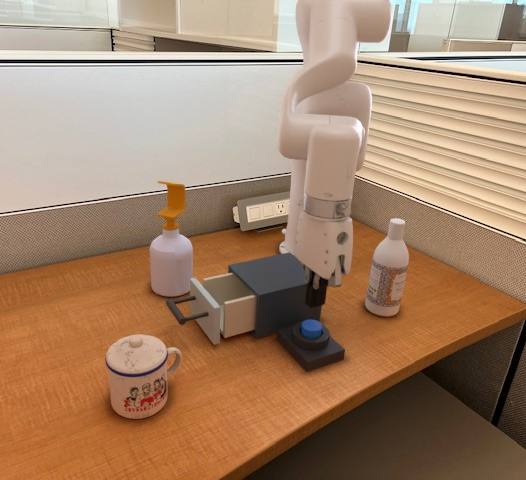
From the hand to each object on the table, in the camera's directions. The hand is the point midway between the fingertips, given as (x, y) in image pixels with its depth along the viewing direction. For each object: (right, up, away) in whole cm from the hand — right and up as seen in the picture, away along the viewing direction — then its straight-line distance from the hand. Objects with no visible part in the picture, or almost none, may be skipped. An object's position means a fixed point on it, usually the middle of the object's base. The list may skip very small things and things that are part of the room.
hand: (314, 304), depth 83 cm
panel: (0, -9, +5) cm, 10 cm away
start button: (0, -6, +3) cm, 6 cm away
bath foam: (+17, -4, +18) cm, 25 cm away
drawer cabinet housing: (-6, -4, +15) cm, 17 cm away
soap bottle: (-28, +1, +23) cm, 36 cm away
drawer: (-17, -5, +9) cm, 20 cm away
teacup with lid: (-27, -14, -8) cm, 31 cm away
